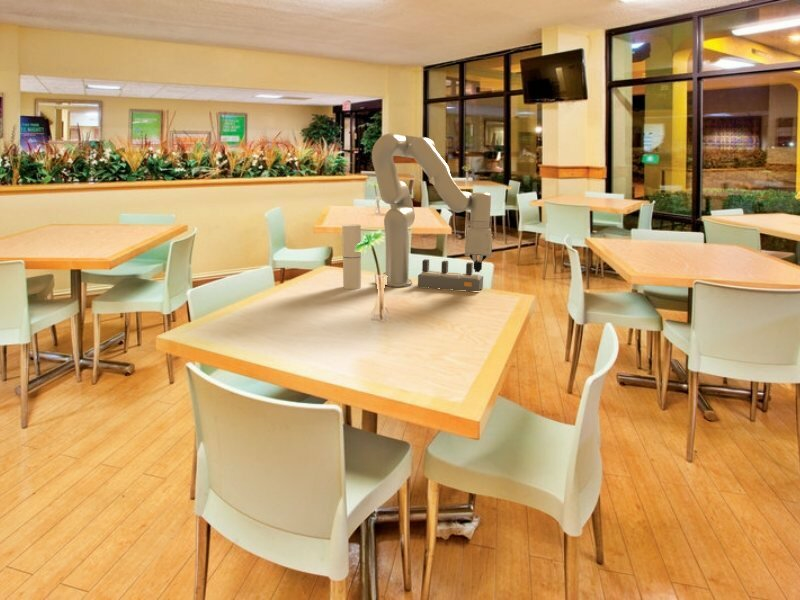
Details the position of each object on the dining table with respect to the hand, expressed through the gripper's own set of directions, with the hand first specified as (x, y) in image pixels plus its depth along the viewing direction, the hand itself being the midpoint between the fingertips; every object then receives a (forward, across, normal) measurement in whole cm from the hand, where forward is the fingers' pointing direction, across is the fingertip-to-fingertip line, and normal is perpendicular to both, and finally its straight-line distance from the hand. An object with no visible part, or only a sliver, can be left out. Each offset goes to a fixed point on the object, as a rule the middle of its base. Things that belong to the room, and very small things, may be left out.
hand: (477, 271), depth 216 cm
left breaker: (+1, -21, 0) cm, 21 cm away
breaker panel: (+8, -11, 0) cm, 13 cm away
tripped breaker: (+1, -3, 0) cm, 4 cm away
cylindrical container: (+8, -48, -13) cm, 51 cm away
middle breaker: (+1, -13, 0) cm, 13 cm away
